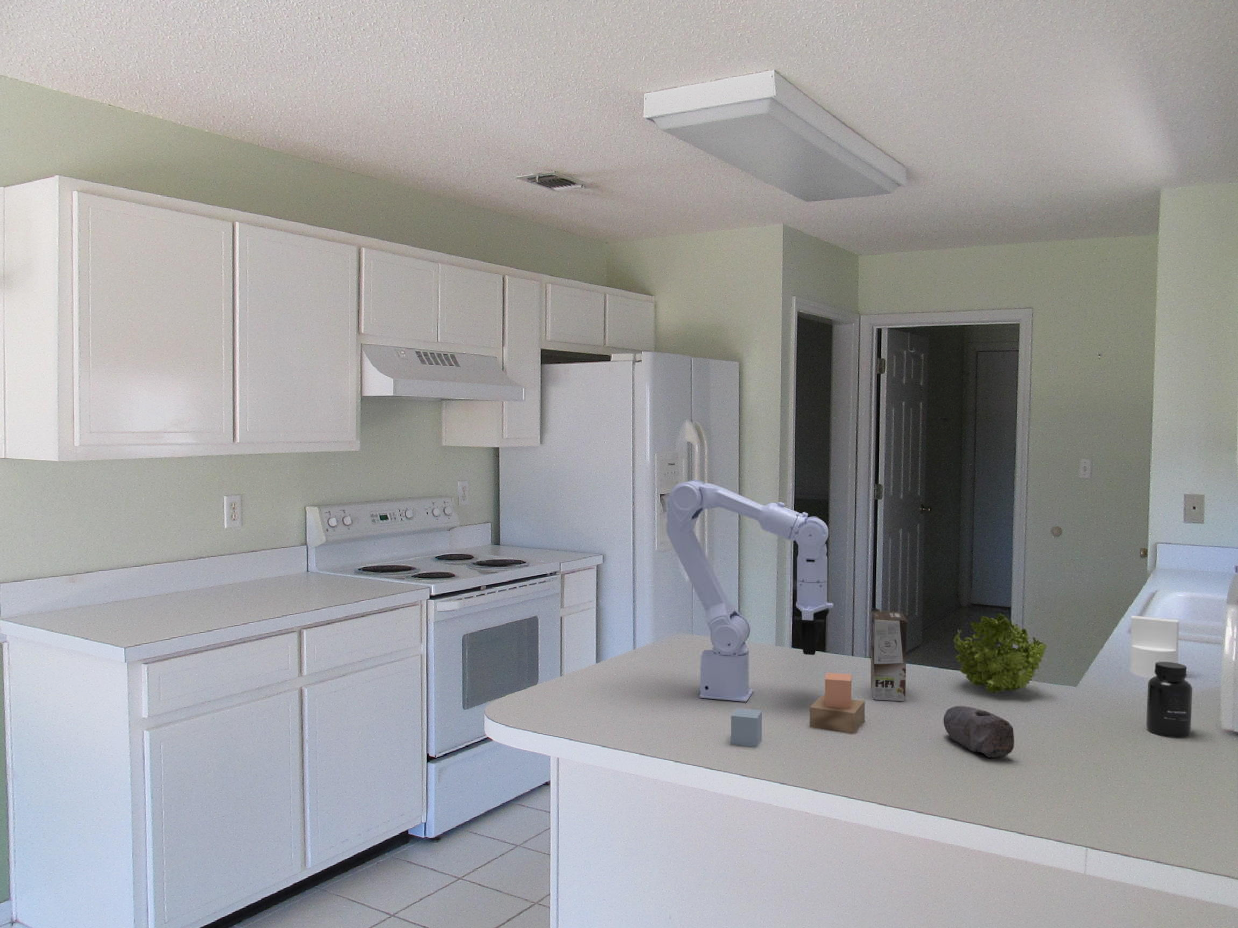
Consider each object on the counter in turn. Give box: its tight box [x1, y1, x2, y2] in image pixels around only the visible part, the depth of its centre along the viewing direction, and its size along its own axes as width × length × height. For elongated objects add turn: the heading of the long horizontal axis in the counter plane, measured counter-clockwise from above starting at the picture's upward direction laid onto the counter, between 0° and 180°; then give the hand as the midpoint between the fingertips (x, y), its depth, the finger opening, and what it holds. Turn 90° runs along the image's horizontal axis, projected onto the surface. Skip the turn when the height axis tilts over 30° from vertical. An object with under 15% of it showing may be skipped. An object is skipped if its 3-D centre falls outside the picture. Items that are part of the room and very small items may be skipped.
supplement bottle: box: [1145, 662, 1193, 738], centre depth 168 cm, size 7×7×12 cm
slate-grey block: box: [730, 707, 763, 748], centre depth 164 cm, size 4×4×5 cm
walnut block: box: [809, 695, 866, 734], centre depth 173 cm, size 8×8×4 cm
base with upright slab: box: [1129, 615, 1180, 679], centre depth 206 cm, size 9×9×12 cm
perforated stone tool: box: [942, 705, 1015, 758], centre depth 160 cm, size 15×5×7 cm, turn 17°
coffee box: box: [870, 610, 908, 702], centre depth 191 cm, size 9×6×16 cm
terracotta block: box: [824, 672, 853, 709], centre depth 173 cm, size 4×4×5 cm
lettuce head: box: [953, 613, 1049, 694], centre depth 194 cm, size 18×16×16 cm
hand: (811, 649), depth 186 cm, fingers open, 7 cm apart
